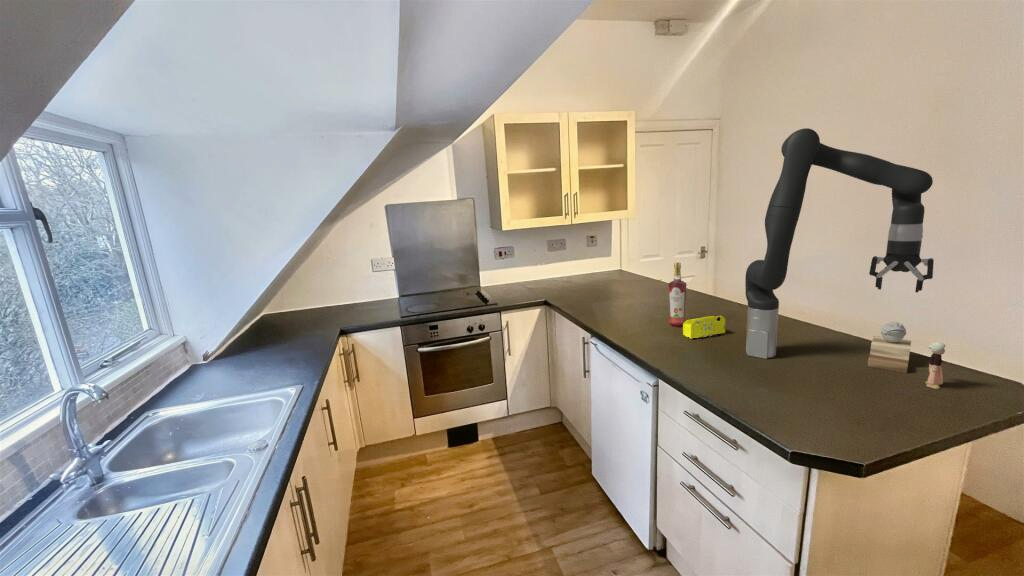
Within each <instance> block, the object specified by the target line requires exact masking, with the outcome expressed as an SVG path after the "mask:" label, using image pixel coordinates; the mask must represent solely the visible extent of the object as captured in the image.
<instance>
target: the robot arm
mask: <svg viewBox="0 0 1024 576" xmlns="http://www.w3.org/2000/svg"><path fill="white" fill-rule="evenodd" d="M820 140H821V139H820V136H819V134H818V133H817V132H816V131H815V130H814V129H812V128H804V127H803V128H801V129H797V130H796V131H794V132H792V133H791V134H789V136H788V137H787V138H786V139H785V140H784V141H783V142H782V144H781V151H780V152H781V154H782V156H783V162H782V168H781V172H780V176H779V179H778V181H777V182H776V185H775V187H774V189H773V192H772V194H771V196H770V200H769V203H768V205H767V208H766V213H765V217H764V230H765V235H766V241H767V243H766V244H767V245H766V252H765V255H764V259H756V260H754V261H752V262H751V263H750V264H749V265H748V267H747V268H746V271H745V298H746V301H747V313H746V338H745V353H746V356H749V357H750V356H751V357H755V358H760V359H769V358H770V359H771V358H773V357H776V355H777V343H778V342H777V340H778V326H779V325H778V323H779V312H780V311H779V309H780V308H779V306H780V301H779V298H778V297H777V296H776V295H775V292H774V291H775V290H777V289H779V288H780V287H782V285H783V284H784V282H785V280H786V279H787V273H788V266H789V258H790V253H791V247H792V245H793V244H792V243H793V241H794V236H795V232H796V228H797V225H798V221H799V217H800V215H801V211H802V206H803V202H804V197H805V193H806V189H807V188H806V187H807V181H808V177H809V174H810V172H811V167H812V166H816V167H820V168H824V169H828V170H831V171H834V172H837V173H840V174H843V175H846V176H849V177H852V178H855V179H857V180H860V181H863V182H866V183H868V184H872V185H877V186H883V187H886V188H889V189H891V201H892V203H891V204H892V212H891V213H892V214H891V221H890V226H889V230H888V233H887V234H888V235H887V243H886V252H885V256H884V257H883V256H882V257H881V256H878V255H875V256H873V257H872V259H871V263H870V268H869V272H868V275H869V276H872V277H875V279H876V280H875V288H877V290H882V287H883V286H882V285H883V276H884V275H886V274H887V273H888V272H889V271H892V272H896V273H897V272H902V273H909V272H910V273H911V274H913V276H915V277H916V285H915V292H914V293H919V292H921V291H923V287H924V286H923V285H924V281H925V280H932V279H933V277H934V262H935V261H934V260H935V259H934V258H933V257H929V258H921V247H922V242H923V241H922V240H923V237H924V235H923V233H924V225H923V224H924V218H925V217H924V216H925V209H926V208H925V206H924V204H923V203H922V194H923V193H926V192H928V191H929V190H930V188H931V187H932V186H933V184H934V183H933V182H934V181H933V177H932V175H931V174H930V173H928V172H927V171H924V170H922V169H918V168H914V167H912V166H911V167H910V166H905V165H901V164H896V163H895V162H891V161H889V160H886V159H882V158H879V157H877V156H873V155H869V154H866V153H862V152H856V151H849V150H844V149H840V148H835V147H833V146H829V145H826V144H824V143H822V142H821V141H820ZM881 262H883V263H884V264H885V267H884V268H883V269H881V270H880V271H879V272H877V271H876V268H877V265H878V264H880V263H881ZM921 263H922V264H923V266H925V267H927V270H926V271H927V272H926V274H922V273H921V271H920V270H919V269H918V268H917V266H919V265H920V264H921Z"/></svg>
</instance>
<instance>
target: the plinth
mask: <svg viewBox="0 0 1024 576" xmlns="http://www.w3.org/2000/svg"><path fill="white" fill-rule="evenodd" d="M911 345H912V340H909V339H908V340H907V339H901V340H900V341H899V342H894V343H892V342H888V341H886V340H885V339H884V338H883V337H882V336H878V335H874V336H873V337H872V340H871V343H870V351H869V356H868V360H867V367H869V368H874V369H881V370H885V371H891V372H897V373H903V374H908V373H907V372H908V367H909V360H910V353H911Z"/></svg>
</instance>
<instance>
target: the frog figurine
mask: <svg viewBox="0 0 1024 576" xmlns="http://www.w3.org/2000/svg"><path fill="white" fill-rule="evenodd" d="M880 334H881V337H883V338H884V339H885V340H886V341H888V342H892V343H894V342H899V341H900V340H904V337H905V336H906V335H907V330H906V327H905V326H904V324H903V323H899V322H898V321H891V322H889V323H886V324H884V325H882V327H881V328H880Z"/></svg>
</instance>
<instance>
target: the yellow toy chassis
mask: <svg viewBox="0 0 1024 576" xmlns="http://www.w3.org/2000/svg"><path fill="white" fill-rule="evenodd" d="M725 333H726V318H725V317H724V316H723V315H717V316H715V315H710V316H709V315H708V316H702V317H696V318H692V319H686V320H685V322H684V323H683V325H682V335H683V336H684V337H686V338H688V337H689V338H688V339H691V340H694V339H693V338H697V339H699V338H704V337H706V338H707V337H710V336H712V337H713V336H716V335H715V334H725Z"/></svg>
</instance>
